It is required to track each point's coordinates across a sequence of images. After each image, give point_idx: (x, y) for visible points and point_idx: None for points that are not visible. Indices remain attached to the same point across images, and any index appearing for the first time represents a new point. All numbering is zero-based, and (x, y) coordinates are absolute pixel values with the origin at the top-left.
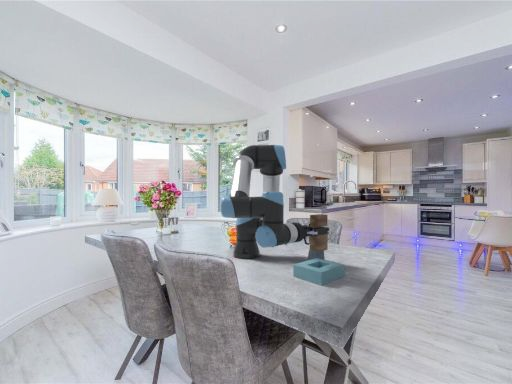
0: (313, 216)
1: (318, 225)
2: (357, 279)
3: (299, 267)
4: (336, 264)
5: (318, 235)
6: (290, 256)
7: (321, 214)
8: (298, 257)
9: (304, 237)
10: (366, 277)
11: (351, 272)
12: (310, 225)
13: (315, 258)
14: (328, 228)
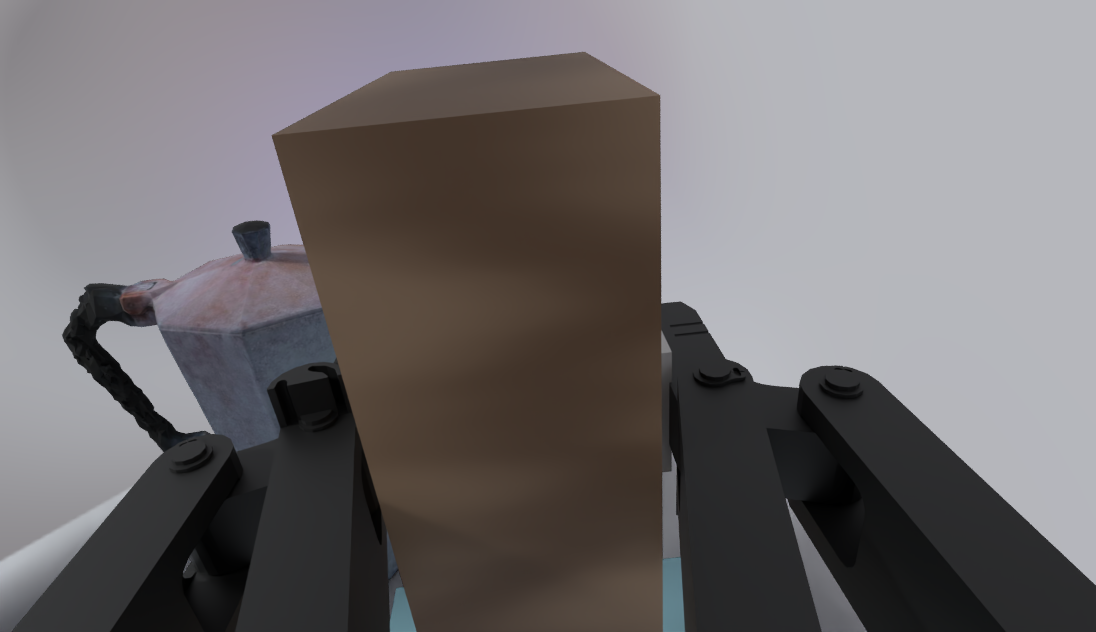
0: (453, 165)
1: (655, 400)
2: (820, 609)
3: None
4: (680, 614)
5: (659, 601)
6: (41, 577)
7: (455, 67)
8: None
9: (130, 398)
10: (800, 524)
11: (663, 518)
12: (387, 465)
13: (394, 615)
14: (700, 328)
